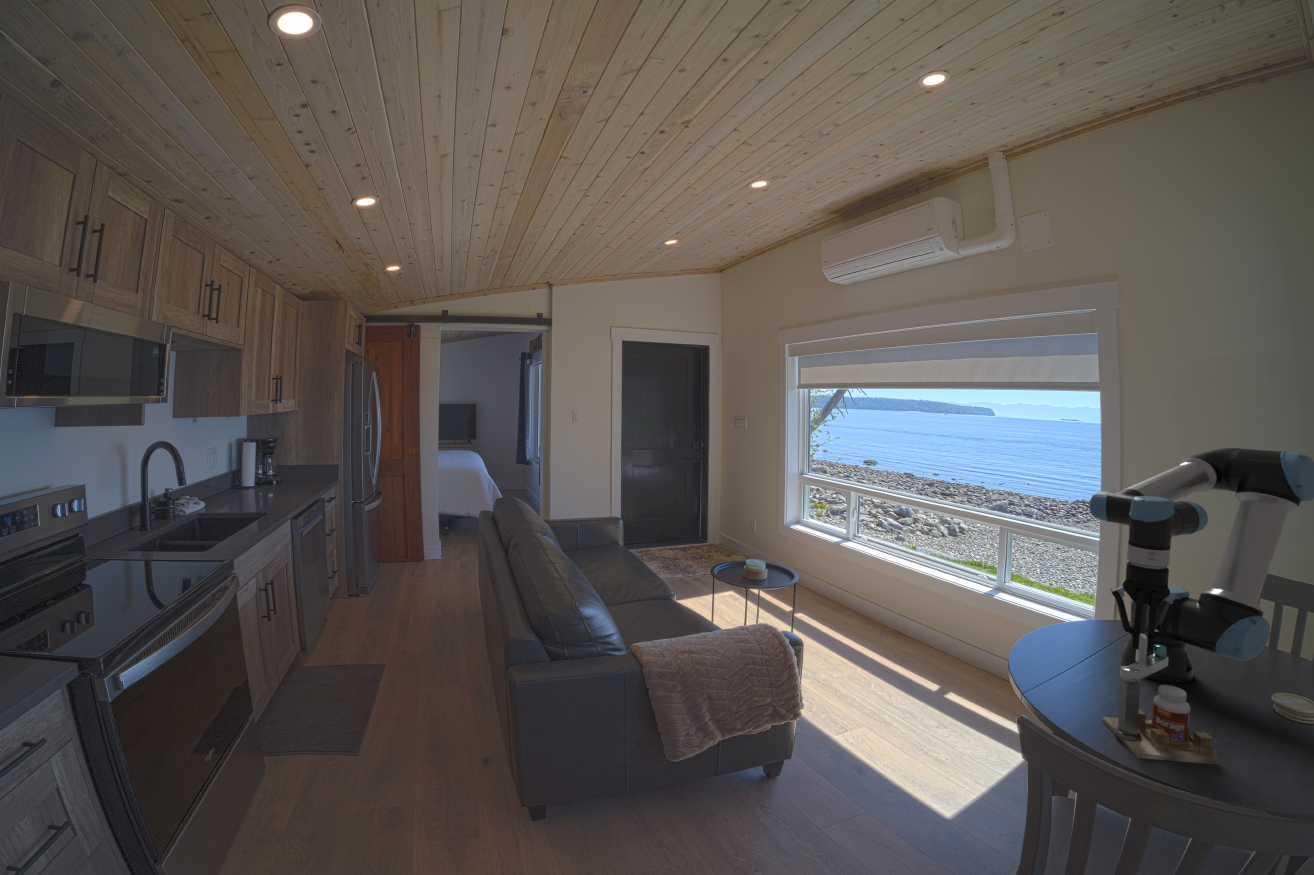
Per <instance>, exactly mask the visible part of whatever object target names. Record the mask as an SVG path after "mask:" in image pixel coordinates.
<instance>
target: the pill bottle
mask: <svg viewBox="0 0 1314 875" xmlns="http://www.w3.org/2000/svg"><path fill="white" fill-rule="evenodd" d="M1157 693H1158V694H1157V695H1155V696H1154V697H1153V701H1152V702H1153V703H1152V715H1151V716H1152V717H1151V720H1152V729H1163V730H1164V731H1165V732H1166V733H1167V734H1169V744H1172V745H1186V744H1187V743H1188V740H1189V733H1190V724H1191V722H1190V721H1191V706H1190V704H1189V703H1188V702H1187V697H1188V694H1187V692H1186V691H1185V690H1184V689H1182V688H1179V687H1177V686H1174V685H1168V684H1161V685H1159V686H1158V689H1157Z"/></svg>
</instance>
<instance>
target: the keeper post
mask: <svg viewBox="0 0 1314 875" xmlns="http://www.w3.org/2000/svg"><path fill="white" fill-rule="evenodd" d="M1140 685H1141V684H1140V683H1129V682H1126V681H1124V680H1122V679H1121V678H1120V677H1119V695H1118V696H1119V699H1118V701H1119V702H1118V716H1117V718H1118V727H1115V728H1114V732H1113V733H1114V735H1116V737H1118V736H1119V737H1121V738H1123V739H1125V740H1129V741H1140V740H1141V735H1140V733H1138V732H1137V730H1138V711H1139V709H1140V708H1139V707H1140V690H1141V688H1140V687H1141V686H1140ZM1119 737H1118V738H1119Z"/></svg>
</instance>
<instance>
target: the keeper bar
mask: <svg viewBox="0 0 1314 875" xmlns="http://www.w3.org/2000/svg"><path fill="white" fill-rule="evenodd" d="M1166 649H1167V647H1166V646H1164V645H1160V644H1154V654H1152V655H1150V656H1148V657H1146V658H1144V659H1142V660H1140V661H1138V662H1135V663H1133V664H1131V665H1129V666H1123V665H1122V666H1120V667H1119V679H1120V678H1121V679H1122V680H1124V681H1126V682H1129V683H1139V684H1140V683H1141V682H1142V681H1141V680H1143V679H1144V678H1147V677H1146V676H1149V675H1151V674H1153V673H1155V672H1157V671H1159V670H1161V669H1163V668H1165V667H1167V666H1168V657H1166Z"/></svg>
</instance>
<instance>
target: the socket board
mask: <svg viewBox="0 0 1314 875" xmlns="http://www.w3.org/2000/svg"><path fill="white" fill-rule="evenodd" d="M1102 722H1103V723H1104V724H1105V725H1106V726H1107V728H1109V729H1110V730H1111V731H1112V732H1113V733H1114V728H1115V727H1118V717H1112V716H1111V717H1110V716H1102ZM1137 732H1138V733H1140V735H1141V740H1140V741H1129V740H1125V739H1123V738H1121V737H1119V736H1117V738H1118V739H1119V740H1120V741H1121V742H1122V743H1123V744H1124V745H1125V746H1126V747H1127V748H1128V749H1129V750H1130V751H1131V752H1132V753H1133V754H1134V755H1135V756H1136V757H1137V758H1138V759H1144V760H1145V759H1146V760H1158V761H1169V762H1170V761H1171V762H1182V763H1193V764H1205V765H1219V759H1218V758H1216V757H1215V756H1214V755H1213V749H1214V748H1213V747H1214V738H1213V736H1211V735H1210V734H1208V733H1207V732H1204V731H1203V732H1202V731H1193V734H1191V733H1190V732H1189V740H1188V743H1187V744H1186V745H1172V744H1169V734H1167V733H1166V732H1165V731H1164V730H1163V729H1152V719H1147V714H1146V713H1145V712H1144V710H1142V709H1140V708H1139V711H1138V730H1137Z"/></svg>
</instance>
